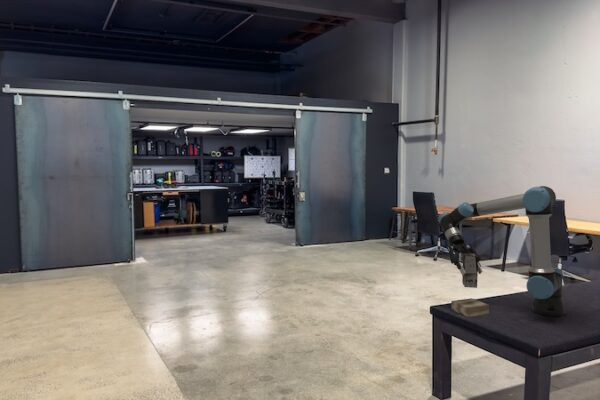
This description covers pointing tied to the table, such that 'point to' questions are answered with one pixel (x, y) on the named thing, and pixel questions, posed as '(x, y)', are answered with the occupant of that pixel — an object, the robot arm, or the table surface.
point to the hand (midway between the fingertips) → (472, 273)
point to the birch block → (470, 307)
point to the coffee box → (470, 270)
